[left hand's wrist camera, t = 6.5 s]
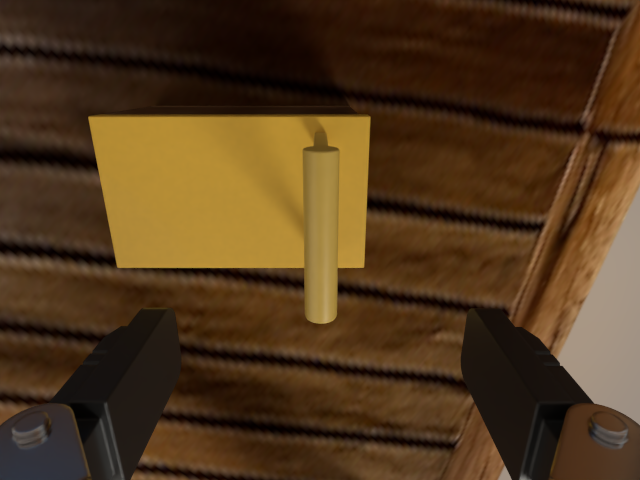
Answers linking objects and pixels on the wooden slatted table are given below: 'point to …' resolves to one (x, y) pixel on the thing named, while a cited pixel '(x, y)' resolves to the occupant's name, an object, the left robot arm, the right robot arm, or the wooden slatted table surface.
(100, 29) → the wooden slatted table surface
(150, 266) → the lid
